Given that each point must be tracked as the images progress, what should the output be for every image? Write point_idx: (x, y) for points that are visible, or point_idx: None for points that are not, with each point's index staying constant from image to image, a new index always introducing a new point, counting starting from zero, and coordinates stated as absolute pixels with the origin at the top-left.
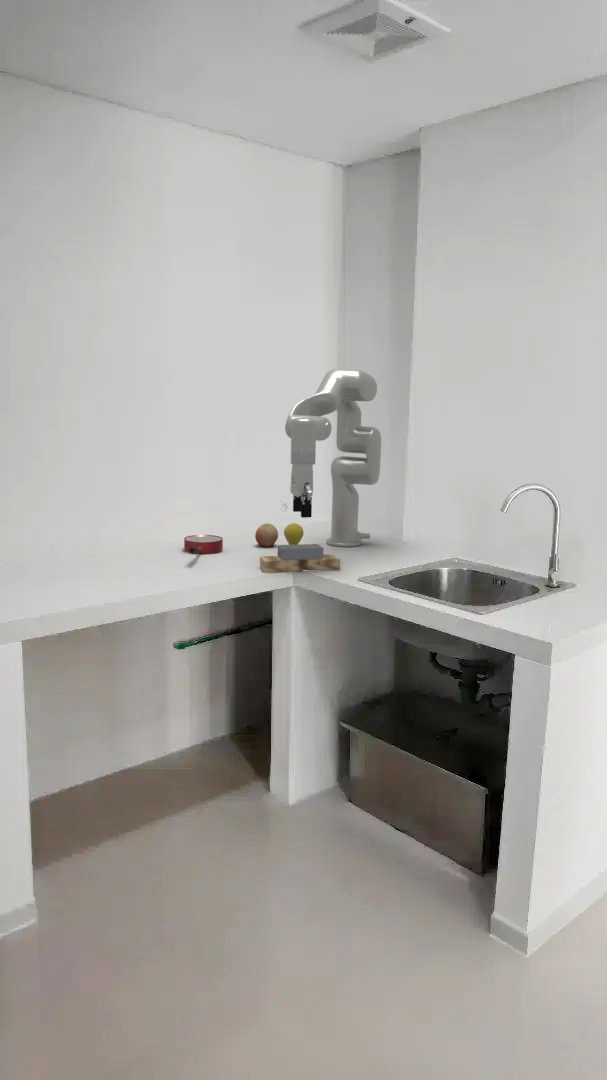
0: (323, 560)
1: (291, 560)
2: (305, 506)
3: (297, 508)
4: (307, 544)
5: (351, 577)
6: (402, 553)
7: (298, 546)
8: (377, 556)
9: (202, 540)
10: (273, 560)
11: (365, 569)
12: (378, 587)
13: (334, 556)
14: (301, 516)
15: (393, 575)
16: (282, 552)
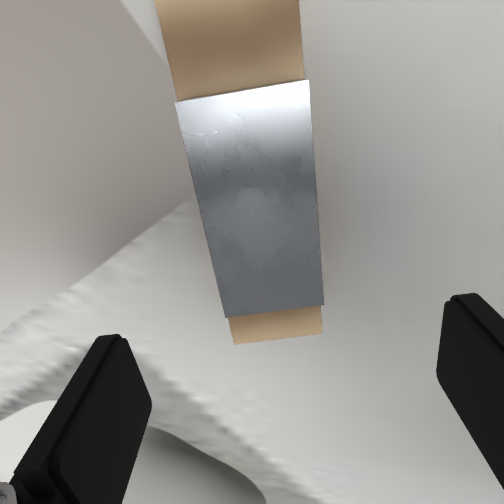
0: None
1: None
2: (19, 481)
3: (459, 354)
4: (316, 258)
5: (134, 334)
6: (440, 478)
7: (262, 208)
8: (418, 428)
9: None
10: (179, 42)
11: (247, 381)
12: (24, 380)
13: (280, 331)
14: (97, 340)
15: (177, 428)
16: (177, 101)
